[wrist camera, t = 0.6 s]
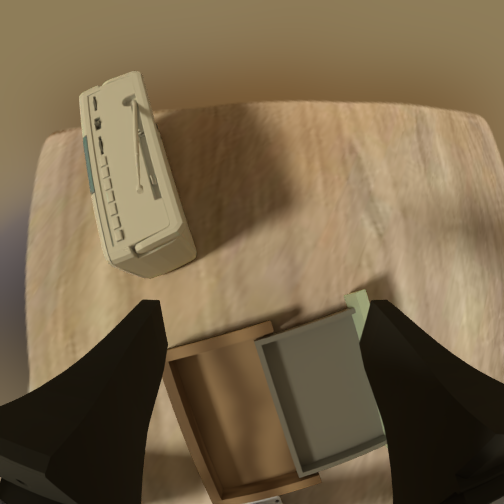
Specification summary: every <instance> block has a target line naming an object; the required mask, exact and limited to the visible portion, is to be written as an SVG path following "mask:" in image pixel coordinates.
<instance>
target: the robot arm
mask: <svg viewBox="0 0 504 504" xmlns="http://www.w3.org/2000/svg"><path fill="white" fill-rule="evenodd" d="M359 346H360V351H361V356H362V360H363V365H364V369H365V372H366V375H367V378H368V380H369V383H370V386H371V389H372V392H373V395H374V398H375V400H376V403H377V406H378V409H379V412H380V415H381V418H382V422H383V426H384V430H385V435H386V440H387V446H388V452H389V459H390V466H391V476H392V488H393V504H504V384H503V383H501V382H499V381H497V380H495V379H493V378H491V377H489V376H488V375H486V374H484V373H482V372H480V371H478V370H477V369H475V368H473V367H472V366H470V365H469V364H467V363H466V362H464V361H463V360H461V359H460V358H458V357H457V356H455V355H454V354H452V353H451V352H450V351H448V350H447V349H446V348H444V347H443V346H442V345H441V344H439V343H438V342H437V341H435V340H434V339H433V338H432V337H431V336H429V335H428V334H427V333H426V332H425V331H423V330H422V329H421V328H420V327H419V326H418V325H416V324H415V323H414V322H413V321H412V320H411V319H409V318H408V317H407V316H406V315H405V314H404V313H402V312H401V311H400V310H399V309H398V308H397V307H395V306H394V305H393V304H392V303H390V302H389V301H388V300H371V303H370V307H369V310H368V314H367V318H366V321H365V325H364V328H363V332H362V335H361V338H360V342H359ZM167 347H168V342H167V337H166V332H165V327H164V322H163V317H162V311H161V306H160V300H142V301H141V302H140V303H139V304H138V305H137V306H136V307H135V308H134V309H133V310H132V311H131V312H130V313H129V314H128V315H127V316H126V317H125V318H124V319H123V320H122V321H121V322H120V323H119V324H118V325H117V326H116V327H115V328H114V329H113V330H112V331H111V332H110V333H109V334H108V335H107V336H106V337H105V338H104V339H103V340H101V341H100V342H99V343H98V344H97V345H96V346H95V347H94V348H93V349H91V350H90V351H89V352H88V353H87V354H86V355H85V356H83V357H82V358H81V359H80V360H79V361H77V362H76V363H75V364H73V365H72V366H71V367H69V368H68V369H67V370H65V371H64V372H62V373H61V374H60V375H58V376H56V377H55V378H53V379H52V380H50V381H49V382H47V383H45V384H44V385H42V386H41V387H39V388H37V389H35V390H34V391H32V392H30V393H28V394H26V395H24V396H22V397H20V398H18V399H16V400H14V401H12V402H9V403H7V404H5V405H2V406H0V477H1V481H0V504H141V493H142V476H143V465H144V455H145V447H146V439H147V432H148V427H149V423H150V419H151V415H152V411H153V408H154V404H155V400H156V397H157V393H158V390H159V386H160V383H161V379H162V375H163V372H164V367H165V361H166V354H167ZM276 500H279V501H276ZM245 504H283V503H282V501H281V498H280V496H275V497H271V498H267V499H263V500H259V501H254V502H250V503H245Z"/></svg>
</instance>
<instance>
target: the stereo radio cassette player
mask: <svg viewBox="0 0 504 504" xmlns="http://www.w3.org/2000/svg"><path fill="white" fill-rule="evenodd" d="M79 103H80V115H81V125H82V135H83V145H84V152H85V159H86V166H87V172H88V179H89V185H90V192H91V197H92V202H93V207H94V213H95V218H96V223H97V227H98V232H99V237H100V241H101V245H102V249H103V253H104V257H105V259H106V261H107V262H108V264H110V265H111V266H113V267H115V268H117V269H119V270H122V271H124V272H127V273H129V274H132V275H135V276H138V277H142V278H149V279H151V278H154V277H157V276H160V275H162V274H165V273H167V272H170V271H172V270H174V269H176V268H178V267H180V266H182V265H184V264H186V263H188V262H190V261H192V260H193V259H195V258H196V254H197V253H196V248H195V245H194V242H193V239H192V236H191V233H190V230H189V226H188V223H187V220H186V217H185V214H184V211H183V208H182V205H181V202H180V198H179V195H178V192H177V189H176V185H175V182H174V179H173V176H172V172H171V169H170V166H169V162H168V159H167V156H166V152H165V149H164V145H163V142H162V138H161V135H160V132H159V130H158V127H157V124H156V122H155V120H154V116H153V112H152V109H151V105H150V101H149V97H148V94H147V90H146V86H145V82H144V78H143V75H142V74H141V73H140V72H137V71H133V72H130V73H127V74H124V75H121V76H118V77H115V78H113V79H110V80H108V81H106V82H105V83H104V84H103V85H102V86H101V87H100V86H95V87H93V88H91V89H89V90H87V91H85V92H83V93H82V94H81V95H80V96H79Z"/></svg>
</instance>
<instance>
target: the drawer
mask: <svg viewBox="0 0 504 504" xmlns="http://www.w3.org/2000/svg"><path fill="white" fill-rule="evenodd" d="M344 298H345V301H346V304H347V308H348V309H345V310H342V311H339V312H337V313H334V314H331V315H328V316H325V317H322V318H320V319H317V320H314V321H311V322H308V323H305V324H302V325H299V326H296V327H293V328H290V329H287V330H284V331H281V332H278V333H274V334H271V335H268V336H265V337H262V338H258V339H255V340H254V343H255V346H256V349H257V352H258V355H259V359H260V362H261V365H262V368H263V371H264V374H265V377H266V380H267V383H268V387H269V390H270V393H271V396H272V399H273V402H274V405H275V408H276V411H277V414H278V417H279V420H280V423H281V426H282V429H283V432H284V435H285V438H286V441H287V444H288V447H289V450H290V453H291V456H292V459H293V462H294V465H295V467H296V470H297V473H298V476H299V478H301V477H304V476H307V475H310V474H314V473H316V472H319V471H322V470H325V469H328V468H331V467H334V466H336V465H339V464H342V463H344V462H347V461H349V460H352V459H354V458H357V457H359V456H362V455H364V454H366V453H369V452H371V451H373V450H375V449H378V448H380V447H382V446H384V445H385V446H386V447H387V448H388V446H387V440H386V435H385V430H384V426H383V422H382V418H381V415H380V412H379V409H378V406H377V403H376V400H375V398H374V395H373V392H372V389H371V386H370V383H369V380H368V378H367V375H366V372H365V369H364V365H363V360H362V356H361V351H360V346H359V342H360V338H361V335H362V332H363V328H364V325H365V321H366V318H367V314H368V310H369V307H370V303H369V299H368V296H367V293H366V290H365V289H364V290H360V291H356V292H352V293H349V294H347V295H344Z"/></svg>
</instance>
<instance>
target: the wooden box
mask: <svg viewBox="0 0 504 504" xmlns="http://www.w3.org/2000/svg"><path fill="white" fill-rule="evenodd" d="M273 332H274V330H273V327H272V324H271V321H269V320H268V321H265V322H262V323H259V324H255V325H252V326H249V327H246V328H242V329H239V330H235V331H232V332H229V333H225V334H222V335H218V336H215V337H211V338H208V339H204V340H200V341H197V342H193V343H189V344H186V345H182V346H178V347H174V348H170V349H167V354H166V361H165V367H164V372H163V375H162V378H163V381H164V384H165V387H166V390H167V393H168V395H169V398H170V401H171V404H172V407H173V410H174V412H175V415H176V418H177V421H178V423H179V426H180V428H181V431H182V434H183V436H184V439H185V441H186V444H187V446H188V449H189V451H190V454H191V456H192V459H193V461H194V463H195V466H196V468H197V470H198V473H199V475H200V477H201V479H202V482H203V484H204V486H205V488H206V490H207V493H208V495H209V497H210V499H211V501H212V503H213V504H245V503H250V502H254V501H259V500H263V499H267V498H271V497H275V496H279V495H282V494H286V493H290V492H293V491H296V490H300V489H303V488H306V487H309V486H313V485H316V484H319V483H322V482H321V479H320V476H319V473H318V472H316V473H314V474H310V475H307V476H304V477H301V478H299V476H298V473H297V470H296V467H295V465H294V462H293V459H292V456H291V453H290V450H289V447H288V444H287V441H286V438H285V435H284V432H283V429H282V426H281V423H280V420H279V417H278V414H277V411H276V408H275V405H274V402H273V399H272V396H271V393H270V390H269V387H268V383H267V380H266V377H265V374H264V371H263V368H262V365H261V362H260V359H259V355H258V352H257V349H256V346H255V343H254V340H255V339H258V338H262V337H265V336H268V335H271V334H273Z"/></svg>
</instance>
